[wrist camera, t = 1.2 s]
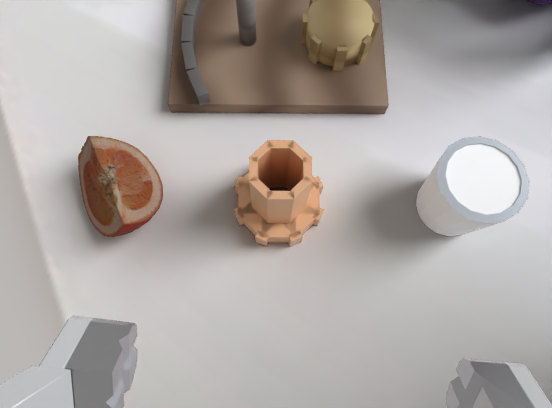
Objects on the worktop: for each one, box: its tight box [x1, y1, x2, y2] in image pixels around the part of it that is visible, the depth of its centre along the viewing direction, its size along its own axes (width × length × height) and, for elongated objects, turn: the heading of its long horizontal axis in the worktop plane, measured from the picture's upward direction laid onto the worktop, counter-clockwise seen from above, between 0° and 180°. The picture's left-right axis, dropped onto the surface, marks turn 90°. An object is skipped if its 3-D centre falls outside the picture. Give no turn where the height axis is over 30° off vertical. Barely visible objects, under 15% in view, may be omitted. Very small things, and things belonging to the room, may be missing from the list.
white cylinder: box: [416, 136, 530, 236], centre depth 36 cm, size 7×7×7 cm
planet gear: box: [234, 140, 324, 246], centre depth 35 cm, size 8×8×8 cm
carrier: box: [168, 0, 388, 114], centre depth 41 cm, size 20×14×7 cm
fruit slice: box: [78, 136, 163, 237], centre depth 37 cm, size 8×7×5 cm
